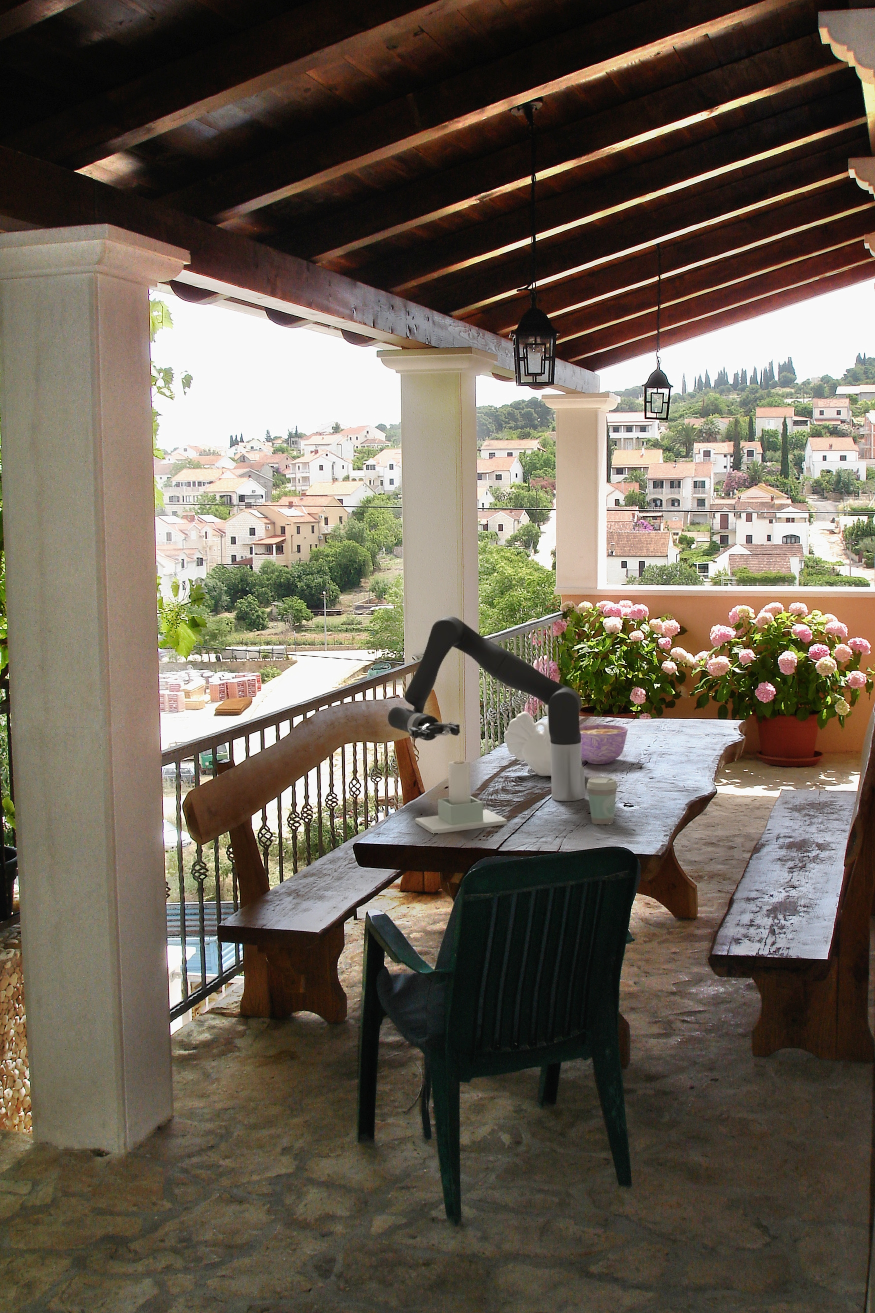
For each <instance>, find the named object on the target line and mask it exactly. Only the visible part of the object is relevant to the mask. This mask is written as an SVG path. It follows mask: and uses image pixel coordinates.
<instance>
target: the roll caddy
mask: <svg viewBox="0 0 875 1313" xmlns="http://www.w3.org/2000/svg"><path fill="white" fill-rule="evenodd" d="M437 814H438V815H431V816H430V815H429V816H423V817H417V818H415V819H414V820H415V821H414V822H415V824H416V825H419V826H420V827H421V828H423V829H424V830H426V831H428V832H429V833H431V834H432V833H433V835H435V834H434V833H438V834H444V833H452V832H459V831H465V830H474V829H482V828H490V827H496V826H502V825H508V820H507V819H506V818H504V817H503V816H500V815H498V814H497V813H495V812H492V811H490V810H489V809H486V808H485V809H484V802H483V801H481V800H480V799H477V798H475V797H473V796H471V803H466V804H459V805H451V804H449V797H443V798H438V799H437Z"/></svg>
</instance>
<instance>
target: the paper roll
mask: <svg viewBox="0 0 875 1313" xmlns="http://www.w3.org/2000/svg"><path fill="white" fill-rule="evenodd" d="M470 763H471V762H470V761H467V760H452V761H449V762H448V763H447V765H448V766H447V768H448V772H447V773H448V798H449V804H451V805H459V804H466V803H471V794H472V792H471V764H470Z"/></svg>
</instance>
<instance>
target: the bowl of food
mask: <svg viewBox="0 0 875 1313" xmlns="http://www.w3.org/2000/svg"><path fill="white" fill-rule="evenodd" d="M579 727H580V733H581V759H583V760H584V761H587V763H589V764H593V765H604V764H605V765H606V764H610V763H612V761H615V760H616V759H618V758H620V756H621V755H622V753H623V750H624V748H625V744H626V740H627V739H626V738H627V736H628V735H627V734H628V730H629V729H628V728H627V727H626V726H624V725H623V726H622V725H616V724H606V723H605V724H596V723H595V724H584V725H583V724H582V725H579Z"/></svg>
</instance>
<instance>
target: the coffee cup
mask: <svg viewBox="0 0 875 1313" xmlns="http://www.w3.org/2000/svg"><path fill="white" fill-rule="evenodd" d="M585 788H587V794H588V802H589V811H590V817H591V818H590V819H591V823H592V824H593V823H594V824H593V825H597V824H609V823H612V822H613V823H614V818H615V810H616V809H615V808H616V795H617V788H618V783H617V781H616V779H615V778H613V777H607V776H596V777H595V776H594V777H591V778H588V780H587V783H586V785H585ZM613 823H612V824H613ZM609 825H610V824H609Z"/></svg>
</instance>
